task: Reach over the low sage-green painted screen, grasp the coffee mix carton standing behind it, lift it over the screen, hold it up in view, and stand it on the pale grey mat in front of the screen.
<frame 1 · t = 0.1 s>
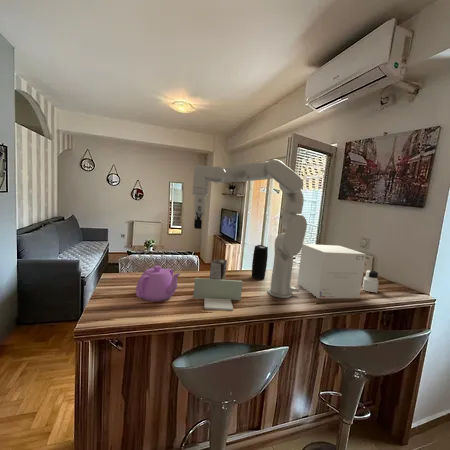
hand: (197, 227, 129), 31 cm above the countertop, tool pointing down, fingers open, 9 cm apart
portable speaker: (257, 277, 161), on the countertop
mat: (218, 304, 116), on the countertop
medicine bottle: (369, 291, 155), on the countertop
screen: (217, 298, 122), on the countertop
cube: (326, 291, 148), on the countertop
coffee box: (216, 293, 129), on the countertop
teapot: (159, 297, 118), on the countertop
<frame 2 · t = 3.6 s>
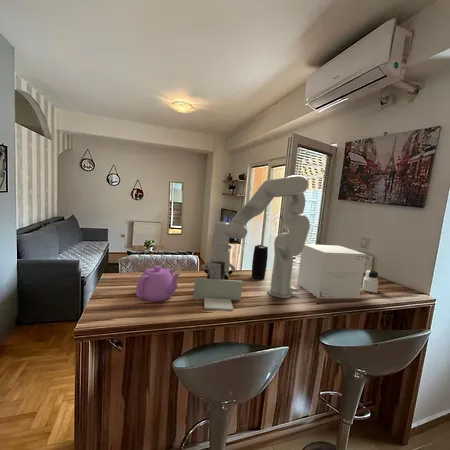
hand: (217, 282, 129), 5 cm above the countertop, tool pointing down, fingers closed on coffee box, 7 cm apart
coffee box: (216, 293, 129), on the countertop, touching gripper
everything else where it was.
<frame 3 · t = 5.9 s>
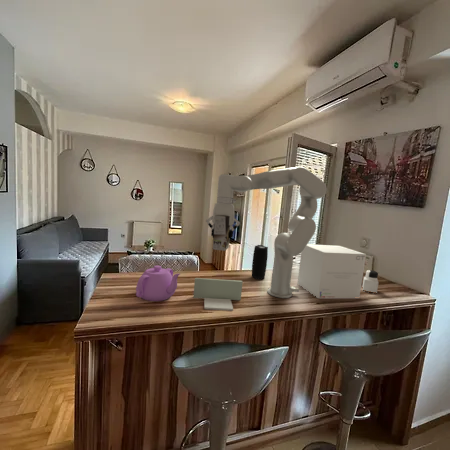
hand: (221, 237, 126), 27 cm above the countertop, tool pointing down, fingers closed on coffee box, 7 cm apart
coffee box: (220, 248, 127), point 22 cm above the countertop, touching gripper
everything else where it was.
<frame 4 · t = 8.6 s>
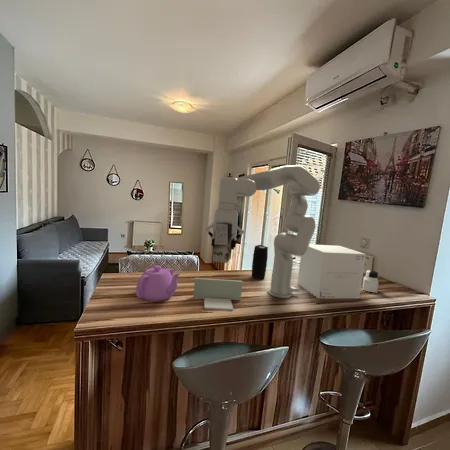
hand: (223, 248, 113), 25 cm above the countertop, tool pointing down, fingers closed on coffee box, 7 cm apart
coffee box: (222, 260, 113), point 20 cm above the countertop, touching gripper
everything else where it was.
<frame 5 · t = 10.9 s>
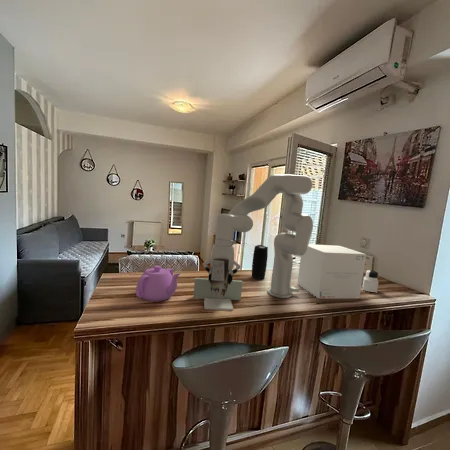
hand: (220, 282, 114), 10 cm above the countertop, tool pointing down, fingers closed on coffee box, 7 cm apart
coffee box: (218, 294, 115), point 5 cm above the countertop, touching gripper
everything else where it was.
when the fingers open (7 cm above the countertop, at t = 12.7 s): coffee box drops 1 cm, resting on mat.
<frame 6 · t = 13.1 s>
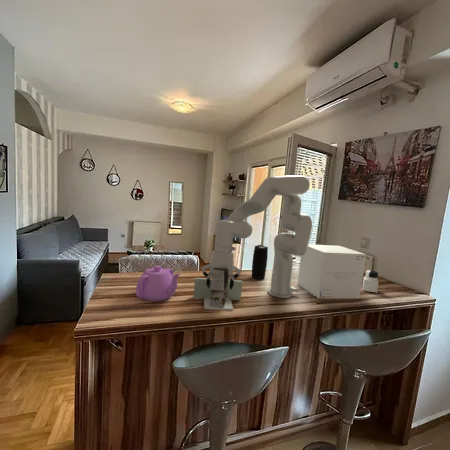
hand: (219, 287, 115), 8 cm above the countertop, tool pointing down, fingers open, 9 cm apart
coffee box: (218, 303, 116), point 1 cm above the countertop, touching mat
everything else where it was.
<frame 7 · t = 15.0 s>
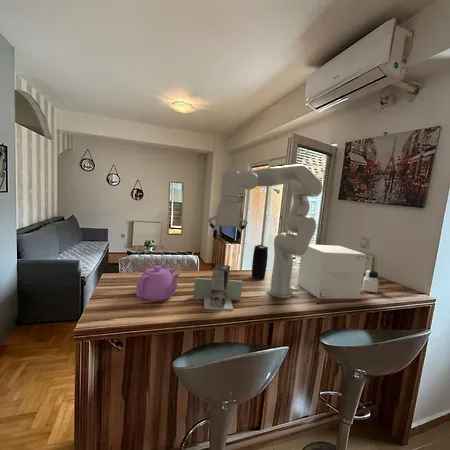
hand: (226, 239, 115), 29 cm above the countertop, tool pointing down, fingers open, 9 cm apart
nothing on the countertop moved.
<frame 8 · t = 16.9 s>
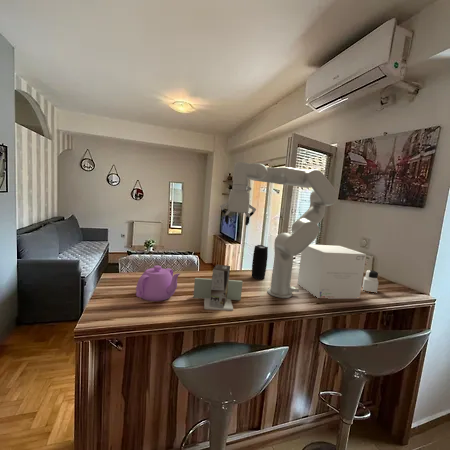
hand: (236, 224, 128), 34 cm above the countertop, tool pointing down, fingers open, 9 cm apart
nothing on the countertop moved.
at the end: coffee box inside the target area on the mat (0.2 cm from its centre), point 0.6 cm above the mat's base; coffee box tilted 0°; the gripper is holding nothing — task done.
